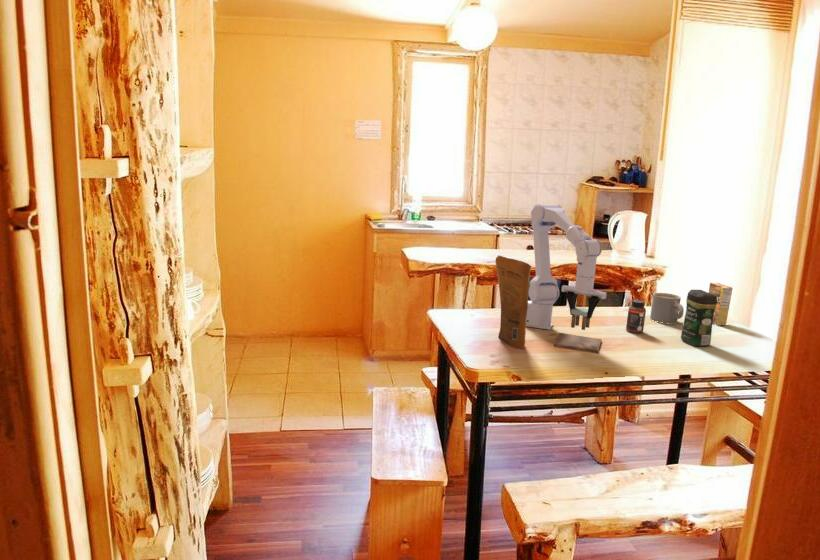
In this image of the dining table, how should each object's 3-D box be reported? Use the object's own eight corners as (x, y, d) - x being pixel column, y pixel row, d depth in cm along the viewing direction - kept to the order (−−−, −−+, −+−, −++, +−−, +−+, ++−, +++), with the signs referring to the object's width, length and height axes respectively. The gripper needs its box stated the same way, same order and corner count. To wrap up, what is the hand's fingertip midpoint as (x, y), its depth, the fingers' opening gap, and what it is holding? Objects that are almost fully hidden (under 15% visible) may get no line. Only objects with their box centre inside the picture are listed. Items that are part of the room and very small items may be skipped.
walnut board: (553, 345, 200) (553, 343, 200) (559, 334, 213) (559, 332, 213) (597, 353, 195) (597, 350, 195) (601, 341, 208) (601, 339, 208)
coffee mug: (644, 317, 244) (648, 292, 242) (667, 317, 246) (670, 292, 244) (664, 326, 231) (668, 301, 229) (688, 326, 233) (691, 301, 231)
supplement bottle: (644, 334, 219) (648, 303, 217) (626, 332, 220) (630, 302, 218) (641, 330, 225) (645, 300, 223) (624, 328, 226) (628, 298, 224)
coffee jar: (676, 338, 216) (683, 287, 212) (696, 338, 217) (704, 288, 213) (692, 347, 207) (701, 294, 203) (714, 347, 208) (722, 294, 204)
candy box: (703, 319, 245) (709, 282, 242) (712, 319, 246) (718, 282, 243) (716, 325, 237) (723, 287, 233) (726, 326, 237) (733, 287, 234)
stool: (569, 327, 202) (571, 309, 201) (575, 324, 207) (577, 306, 205) (584, 330, 199) (586, 312, 198) (590, 327, 204) (592, 309, 202)
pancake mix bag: (513, 351, 192) (521, 264, 187) (487, 333, 210) (494, 253, 204) (532, 350, 195) (541, 263, 189) (505, 332, 212) (512, 253, 206)
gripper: (611, 278, 198) (606, 318, 201) (569, 271, 207) (564, 309, 209) (604, 281, 193) (599, 322, 195) (560, 273, 201) (556, 313, 204)
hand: (580, 316), depth 202 cm, fingers closed on stool, 5 cm apart
